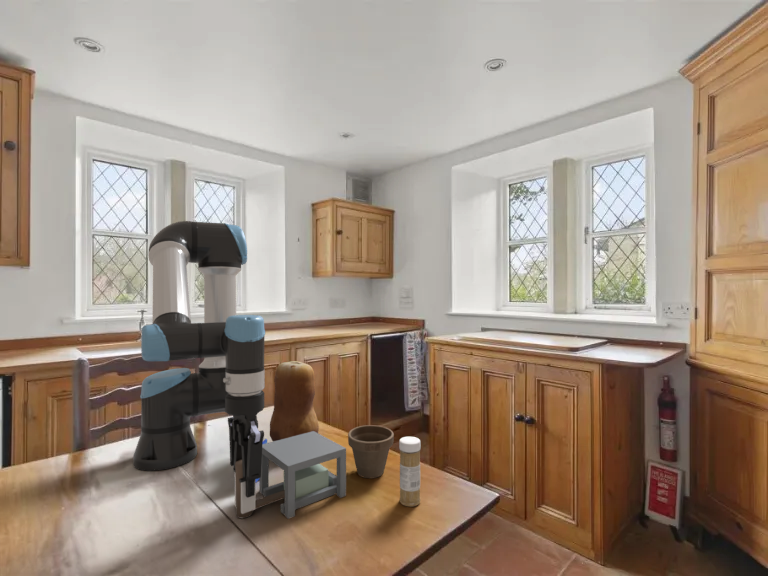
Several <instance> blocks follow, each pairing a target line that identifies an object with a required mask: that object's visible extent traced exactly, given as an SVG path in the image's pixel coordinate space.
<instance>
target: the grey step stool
mask: <svg viewBox="0 0 768 576" xmlns="http://www.w3.org/2000/svg"><path fill="white" fill-rule="evenodd" d="M331 460H336V474H334V473H333V472H332V471H330V470H328V477H329V487H326V488H324V489H321V490H318V491H316V492H313V493H310V494H308V495H305V496H302V497H300V498H297V499H295V471H298V470H301V469H304V468H307V467H311V466H314V465H317V464H324V463H326V462H329V461H331ZM269 461H271V462H272V463H274V464H275V465H276V466H277V467H279V468H280V469H281V470H283V472H284V471H285V498H284V502H283V503H281V504H280V513H281V514H282V515H284V516H285V518H287V520H288V519H291V518H295V517H296V510H298V509H301V508H303V507H306V506H308V505H311V504H313V503H316V502H318V501H320V500H321V501H322V500H324V499H326V498H329V497H331V496H333V495H336V496H337V497H338V498H340V499H342V498H344V497H346V496H347V448H346V447H345V446H343V445H341V444H339V443H337V442H336V441H333V440H332V439H330V438H328V437H325V436H323V435H322V434H321V433H319V432H318V433H317V432H315V431H312V432H308V433H304V434H300V435H297V436H293V437H289V438H285V439H281V440H277V441H270V442H267V443H266V444H262V464H261V478H259V481H258V482H259V483H258V484H259V487H258V491H259V493H260V494H261V495H263V497H266V496H269V495H272V494H274V493H277V492H280V491H283V490H284V481H282V482H279V483H276V484H272V485H270V486H269V474H270V473H269V468H270V467H269V465H270V463H269Z"/></svg>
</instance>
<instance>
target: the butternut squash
mask: <svg viewBox="0 0 768 576" xmlns="http://www.w3.org/2000/svg"><path fill="white" fill-rule="evenodd" d="M273 379H274V380H273V381H274V398H273V399H274V401H273V411H272V414H271V418H270V421H269V437H270V439H271V442H273V441H277V440H281V439H285V438H289V437H293V436H297V435H300V434H304V433H308V432H312V431H315V432H317V433H318V434H319V432H320V431H319V429H320V428H319V427H320V426H319V420H318V416H317V413H316V411H315V408H314V398H315V393H316V383H315V381H316V378H315V371H314V368H313V367H312V366H311V365H310V364H307V363H304V362H302V361H297V360H294V361H287V362H282V363H280V364H278V366H277V367H276V369H275V374H274V378H273Z"/></svg>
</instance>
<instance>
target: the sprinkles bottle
mask: <svg viewBox="0 0 768 576" xmlns="http://www.w3.org/2000/svg"><path fill="white" fill-rule="evenodd" d="M398 445H399V447H398V448H399V461H400V462H399V489H400V490H399V502H400V504H401V505H403V506H405V507H409V508H410V507H416V506H418V505H420V503H421V459H420V458H421V453H420V452H421V447H422V446H421V439H419V438H418V437H415V436H403V437H401V438H400V439H399V443H398Z"/></svg>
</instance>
